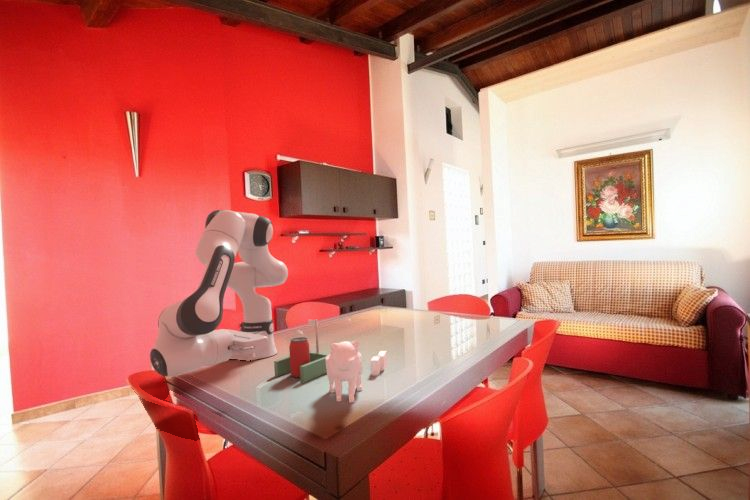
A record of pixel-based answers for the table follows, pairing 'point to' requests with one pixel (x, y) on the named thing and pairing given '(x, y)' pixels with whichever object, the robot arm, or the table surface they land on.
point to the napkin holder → (378, 363)
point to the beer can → (298, 355)
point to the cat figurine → (344, 368)
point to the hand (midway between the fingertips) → (260, 334)
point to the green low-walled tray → (307, 370)
